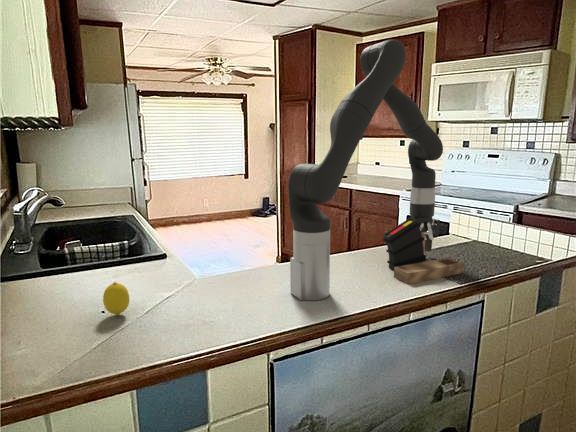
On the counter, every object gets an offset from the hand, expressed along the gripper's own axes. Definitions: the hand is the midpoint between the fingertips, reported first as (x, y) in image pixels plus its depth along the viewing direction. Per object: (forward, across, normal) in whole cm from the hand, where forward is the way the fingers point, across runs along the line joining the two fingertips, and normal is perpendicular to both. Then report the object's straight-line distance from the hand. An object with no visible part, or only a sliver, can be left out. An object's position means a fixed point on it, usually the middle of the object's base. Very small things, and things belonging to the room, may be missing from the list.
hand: (419, 251), depth 138 cm
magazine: (+2, +11, +5) cm, 12 cm away
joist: (+2, +8, +14) cm, 16 cm away
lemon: (+2, +92, +4) cm, 92 cm away
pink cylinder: (+2, 0, 0) cm, 2 cm away
